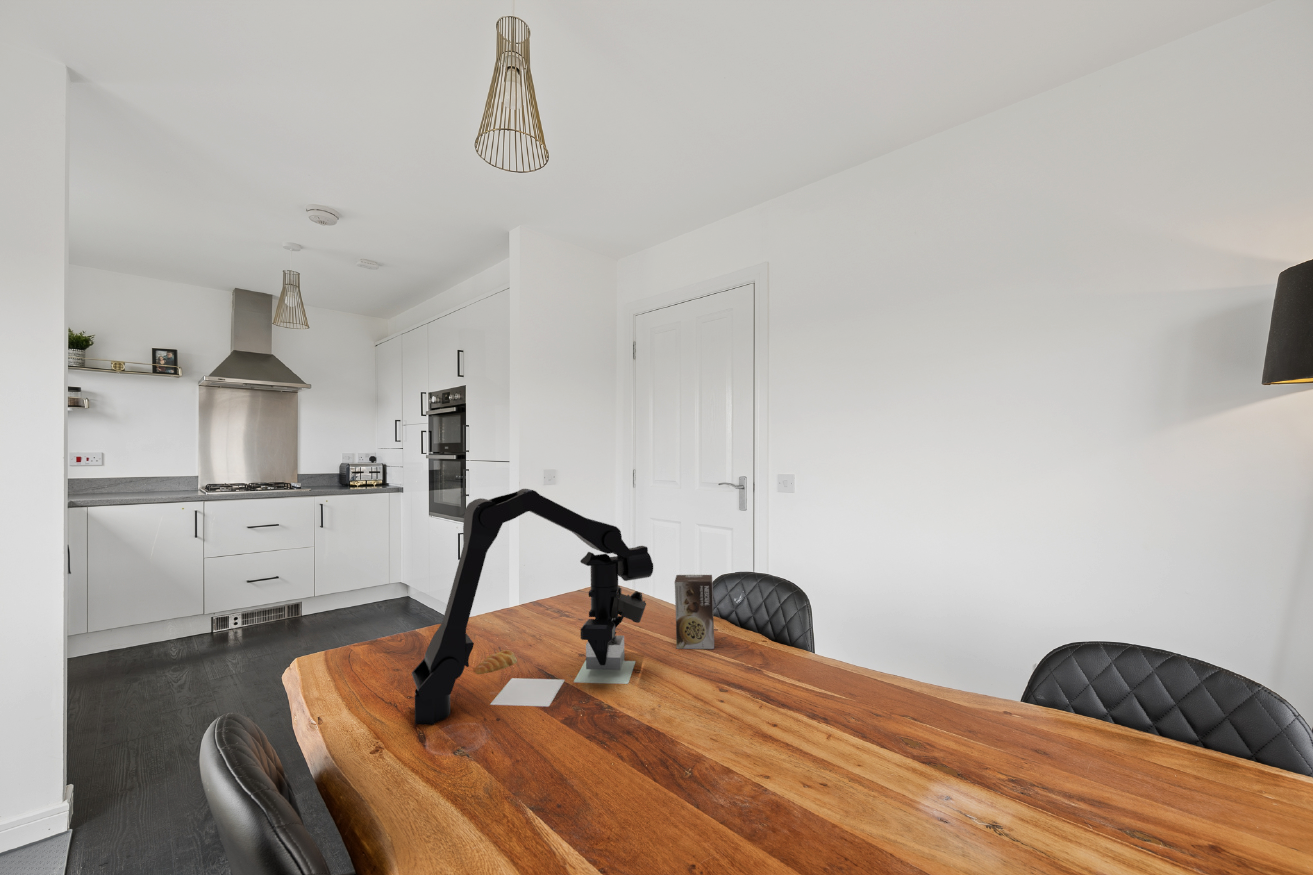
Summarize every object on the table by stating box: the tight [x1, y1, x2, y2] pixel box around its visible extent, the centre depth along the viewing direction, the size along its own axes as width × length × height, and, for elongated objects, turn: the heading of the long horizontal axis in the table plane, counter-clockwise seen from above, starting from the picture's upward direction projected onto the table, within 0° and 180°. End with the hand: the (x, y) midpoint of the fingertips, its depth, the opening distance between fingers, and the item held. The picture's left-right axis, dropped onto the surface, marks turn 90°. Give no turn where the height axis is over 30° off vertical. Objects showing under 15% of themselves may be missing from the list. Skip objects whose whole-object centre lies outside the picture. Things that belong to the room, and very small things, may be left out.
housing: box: [585, 634, 625, 670], centre depth 113 cm, size 6×7×5 cm
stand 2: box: [573, 659, 636, 685], centre depth 113 cm, size 11×11×2 cm
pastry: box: [472, 649, 518, 675], centre depth 117 cm, size 9×7×4 cm
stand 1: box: [489, 677, 565, 708], centre depth 104 cm, size 11×11×2 cm
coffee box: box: [674, 574, 715, 650], centre depth 131 cm, size 9×6×16 cm
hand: (605, 659), depth 113 cm, fingers closed on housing, 5 cm apart
